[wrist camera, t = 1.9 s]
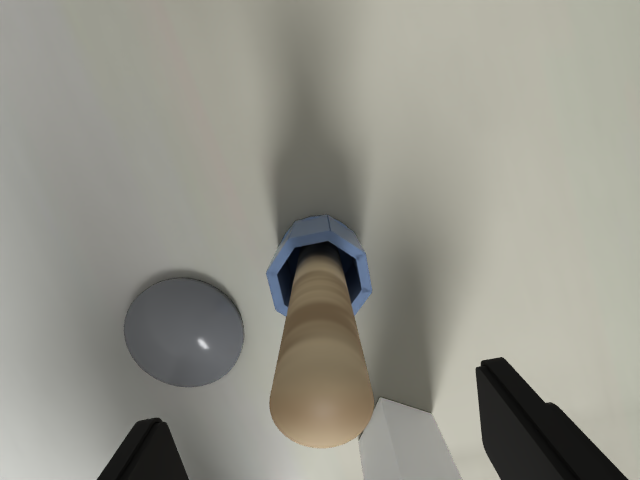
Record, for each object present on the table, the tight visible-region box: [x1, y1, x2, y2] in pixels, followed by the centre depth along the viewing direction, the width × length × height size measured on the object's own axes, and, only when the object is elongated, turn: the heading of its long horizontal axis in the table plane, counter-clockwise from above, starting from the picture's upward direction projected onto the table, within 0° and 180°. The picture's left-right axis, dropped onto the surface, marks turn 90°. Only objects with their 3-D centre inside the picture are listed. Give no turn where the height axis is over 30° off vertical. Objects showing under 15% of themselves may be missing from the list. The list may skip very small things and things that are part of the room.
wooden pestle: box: [269, 241, 374, 448], centre depth 20 cm, size 4×4×18 cm
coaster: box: [124, 278, 244, 387], centre depth 31 cm, size 11×11×1 cm
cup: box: [266, 214, 372, 316], centre depth 26 cm, size 7×7×7 cm
